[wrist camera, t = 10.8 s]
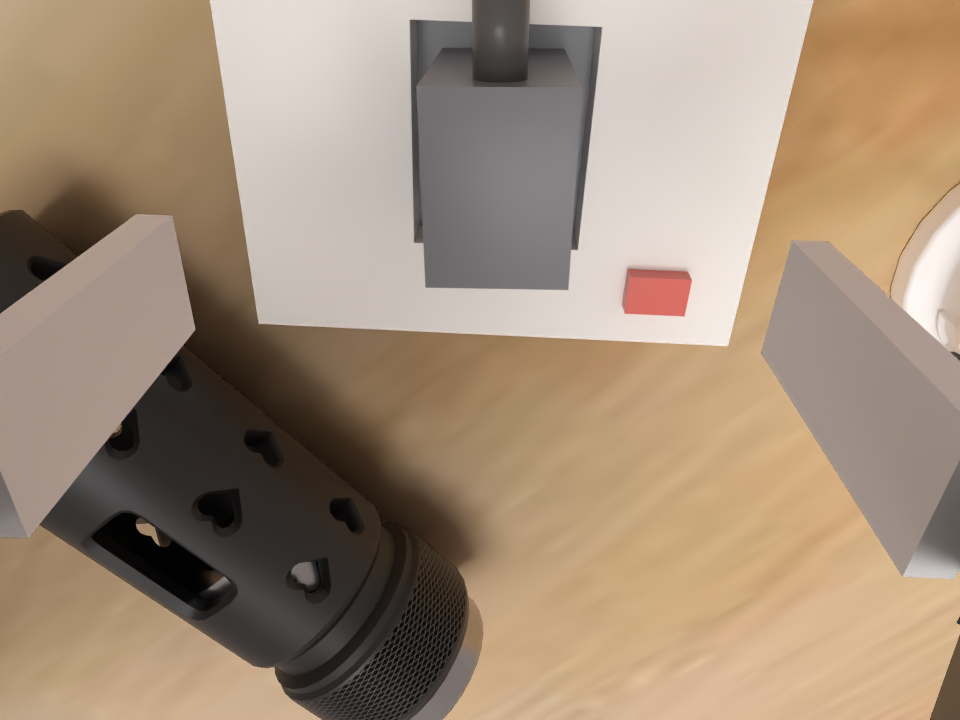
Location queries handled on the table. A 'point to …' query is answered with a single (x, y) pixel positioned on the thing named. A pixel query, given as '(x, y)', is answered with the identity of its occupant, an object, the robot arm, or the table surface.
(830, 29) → the table surface
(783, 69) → the socket plate
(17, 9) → the table surface
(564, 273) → the plug
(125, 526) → the muzzle brake
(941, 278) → the decorative container
